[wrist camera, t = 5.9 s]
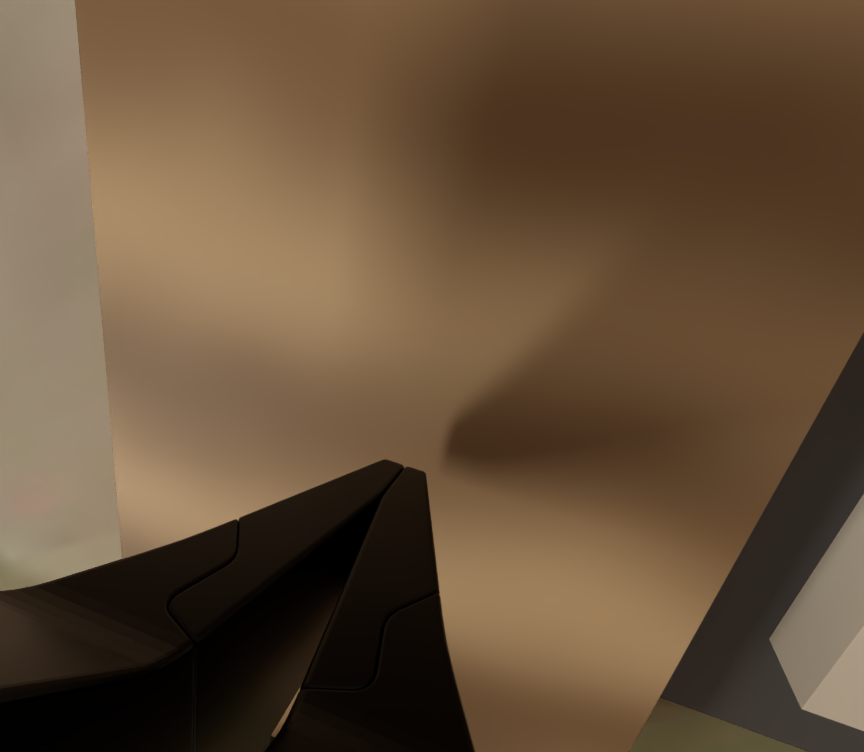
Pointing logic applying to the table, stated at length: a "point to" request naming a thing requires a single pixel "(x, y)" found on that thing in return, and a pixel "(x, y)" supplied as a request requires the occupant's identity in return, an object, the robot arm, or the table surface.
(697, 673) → the bar mat
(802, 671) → the cream bevelled slab
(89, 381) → the table surface
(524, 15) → the serving board
